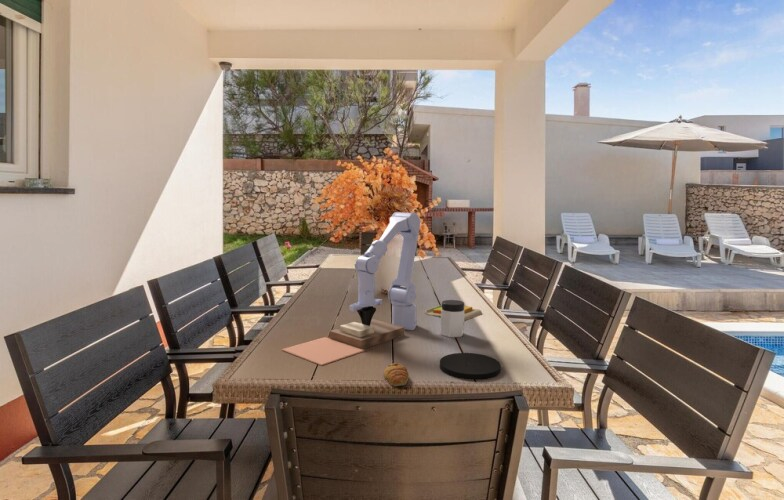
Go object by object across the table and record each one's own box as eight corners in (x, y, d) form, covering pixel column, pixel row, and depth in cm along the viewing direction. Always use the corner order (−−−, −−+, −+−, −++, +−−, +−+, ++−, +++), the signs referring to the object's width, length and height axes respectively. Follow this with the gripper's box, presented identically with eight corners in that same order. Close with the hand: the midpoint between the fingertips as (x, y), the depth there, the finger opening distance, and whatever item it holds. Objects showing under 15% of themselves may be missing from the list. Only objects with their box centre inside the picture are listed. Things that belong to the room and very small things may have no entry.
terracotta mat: (324, 338, 168) (324, 337, 168) (364, 351, 155) (364, 350, 154) (281, 350, 155) (281, 349, 154) (321, 365, 141) (321, 364, 141)
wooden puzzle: (446, 307, 217) (446, 300, 216) (482, 314, 205) (483, 307, 204) (423, 315, 203) (424, 307, 203) (461, 323, 191) (462, 314, 191)
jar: (443, 329, 180) (444, 298, 178) (465, 331, 177) (466, 300, 176) (438, 336, 171) (439, 304, 170) (461, 338, 169) (462, 305, 167)
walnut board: (373, 326, 183) (373, 318, 183) (404, 335, 172) (404, 327, 172) (329, 339, 167) (329, 330, 166) (361, 349, 156) (361, 340, 156)
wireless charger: (469, 355, 153) (469, 349, 153) (513, 372, 139) (513, 365, 139) (427, 366, 142) (427, 360, 142) (470, 386, 128) (470, 379, 128)
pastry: (412, 387, 127) (412, 373, 126) (388, 389, 126) (388, 375, 125) (405, 374, 136) (405, 361, 136) (382, 375, 135) (382, 362, 134)
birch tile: (354, 327, 171) (354, 321, 171) (374, 332, 165) (374, 327, 164) (339, 331, 166) (339, 325, 166) (359, 337, 160) (359, 331, 159)
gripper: (359, 294, 159) (359, 334, 161) (388, 288, 170) (388, 325, 171) (345, 291, 164) (345, 330, 165) (374, 286, 174) (374, 322, 176)
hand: (366, 327), depth 169 cm, fingers closed
